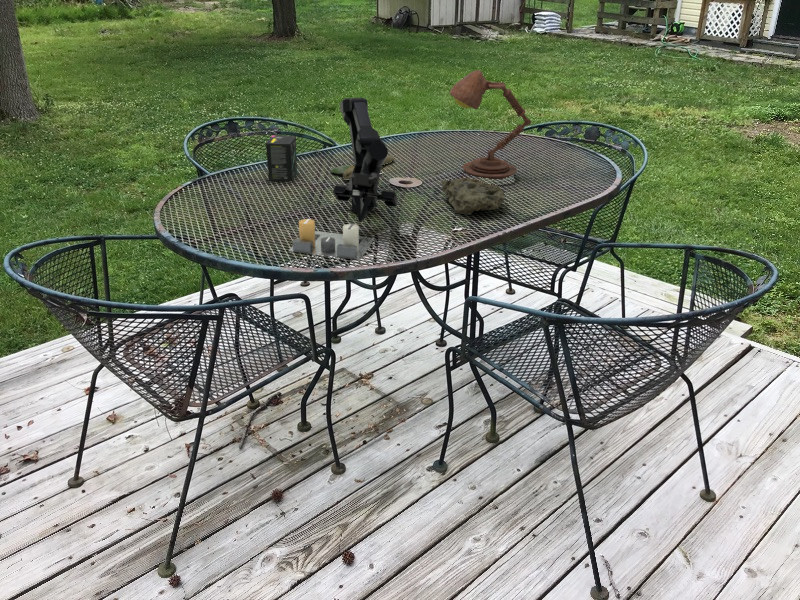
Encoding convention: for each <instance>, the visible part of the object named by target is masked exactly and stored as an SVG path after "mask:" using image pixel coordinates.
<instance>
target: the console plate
mask: <svg viewBox="0 0 800 600" xmlns="http://www.w3.org/2000/svg"><path fill="white" fill-rule="evenodd" d="M324 237H332V238H334V239H335V251H333V252H323V251H321V239H322V238H324ZM374 240H375V237H372V236H371V237H368V236H361V235H359V251H358V252H357V246H351V245H343V233H335V232H328V231H327V232H326V231H318V230H315V246H314V247H313V241H309V240H301V239H300V238H294V239H293V240H292V246H291V247H290V248H289V249H288V252H293V253H301V254H302V253H303V254H310V255H320V256H329V257H335V258H341V259H342V258H343V259H350V260H352V259H353V260H361V259H362V257H363V256H364V255H365V253H366V252H367V250H368V249H369V248H370V246H371V244H372V243H373V241H374Z"/></svg>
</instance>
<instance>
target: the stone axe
mask: <svg viewBox="0 0 800 600" xmlns="http://www.w3.org/2000/svg"><path fill="white" fill-rule="evenodd" d="M393 160H394V161H395V157H394V156H393V155H387V157H386V159H385V161H384V164H386V163H389V162H391V161H393ZM394 161H393V162H394ZM384 164H383V165H384ZM384 166H385V165H384ZM354 167H355V164H354V165H350V164H348V165H345V164H344V165H339V166H336V167H332V168H331V169H330V170H331V171H330V173H332V174H333V173H337V174H336V175H342V178H343V179H344V180H345V179H350V178H351V175H352V172H353V169H354Z"/></svg>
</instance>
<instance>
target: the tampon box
mask: <svg viewBox="0 0 800 600" xmlns="http://www.w3.org/2000/svg"><path fill="white" fill-rule="evenodd" d="M265 148H266V149H265V150H266V160H267V161H266V162H267V163H266V164H267V171H268V172H267V174H268V182H282V181H292V182H291V183H293V182H294V181H293V180H295V179H294V178H296V177H297V175H298V159H297V156H298V155H297V136H294V135H271V137H270V138H269V139H268V140H267V141H266V142H265Z"/></svg>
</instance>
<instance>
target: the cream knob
mask: <svg viewBox="0 0 800 600" xmlns="http://www.w3.org/2000/svg"><path fill="white" fill-rule="evenodd" d="M342 234H343V245H351V246H357V252H358V251H359V236H360V235H359V234H360V227H359V225H358V224H354V223H347V224H344V225H343V226H342Z"/></svg>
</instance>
